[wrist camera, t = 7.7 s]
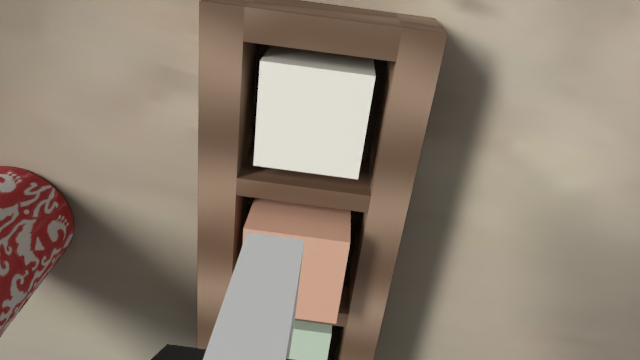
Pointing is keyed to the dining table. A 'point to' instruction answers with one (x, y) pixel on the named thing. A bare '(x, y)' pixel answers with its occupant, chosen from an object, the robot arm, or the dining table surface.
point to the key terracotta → (310, 250)
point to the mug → (28, 236)
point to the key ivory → (312, 111)
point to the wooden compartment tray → (299, 187)
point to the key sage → (310, 341)
